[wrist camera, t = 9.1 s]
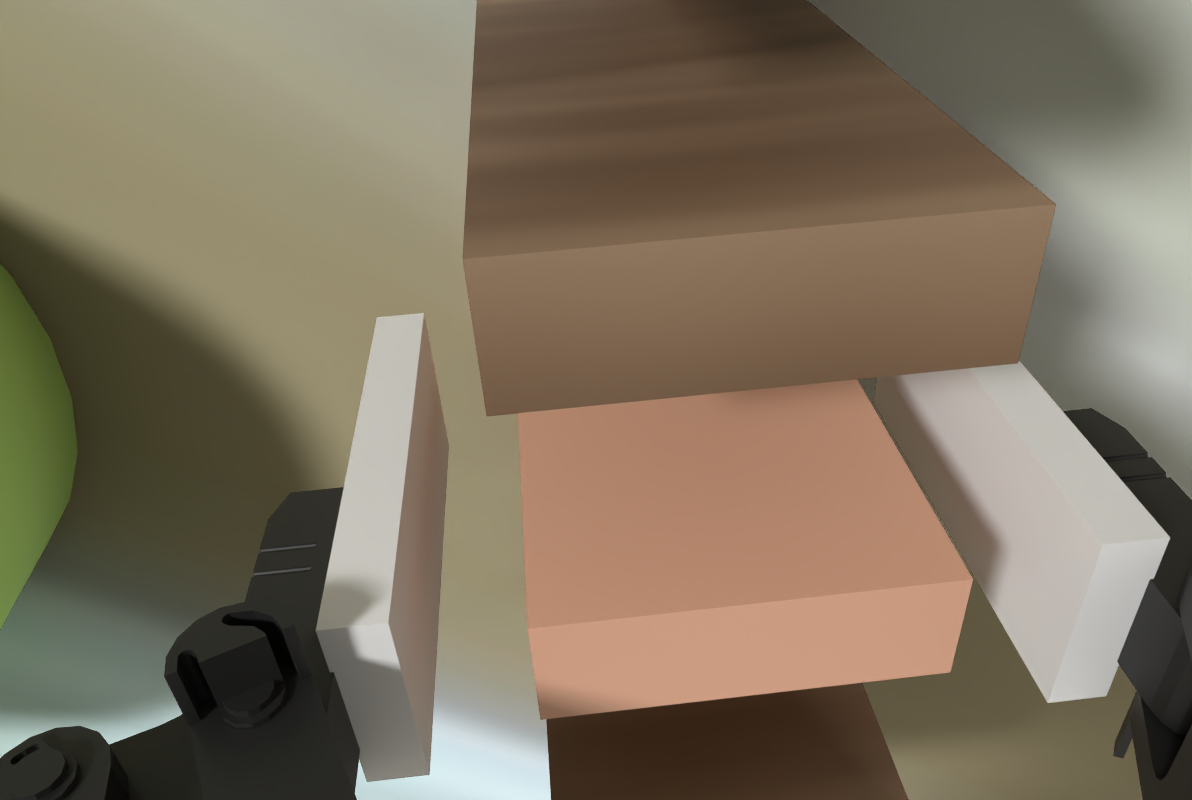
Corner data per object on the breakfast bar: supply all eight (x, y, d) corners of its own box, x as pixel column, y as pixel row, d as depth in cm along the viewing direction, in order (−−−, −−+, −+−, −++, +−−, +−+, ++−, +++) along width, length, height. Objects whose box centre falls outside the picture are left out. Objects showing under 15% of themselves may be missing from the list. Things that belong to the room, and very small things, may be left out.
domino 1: (477, -7, 16) (463, 259, 8) (769, -31, 16) (1055, 204, 8) (488, 88, 17) (487, 416, 9) (765, 65, 17) (1017, 363, 9)
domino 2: (758, 286, 20) (950, 672, 11) (518, 308, 19) (540, 720, 11) (761, 214, 19) (974, 579, 11) (510, 237, 19) (527, 629, 10)
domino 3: (529, 421, 21) (554, 850, 13) (750, 399, 21) (911, 808, 13) (536, 476, 22) (563, 908, 14) (747, 454, 22) (896, 868, 14)
